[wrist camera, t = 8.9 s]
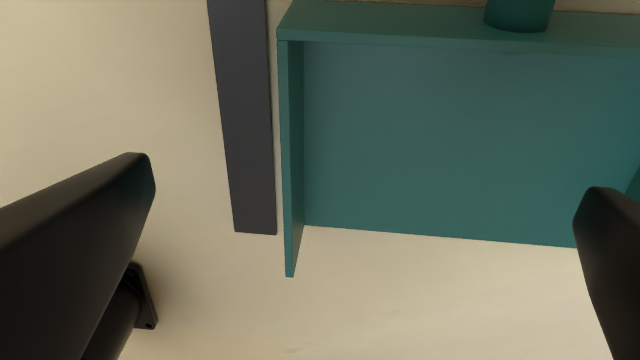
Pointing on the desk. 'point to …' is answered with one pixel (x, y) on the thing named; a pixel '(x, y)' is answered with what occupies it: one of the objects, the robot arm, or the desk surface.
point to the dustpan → (454, 118)
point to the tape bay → (245, 110)
